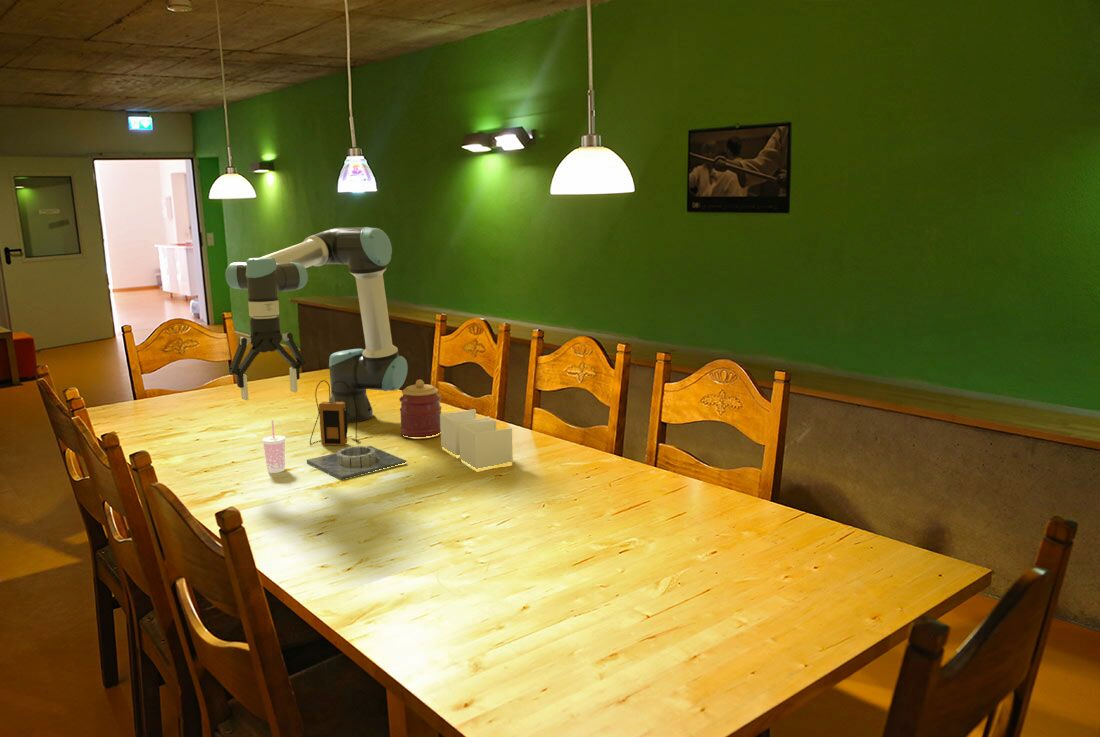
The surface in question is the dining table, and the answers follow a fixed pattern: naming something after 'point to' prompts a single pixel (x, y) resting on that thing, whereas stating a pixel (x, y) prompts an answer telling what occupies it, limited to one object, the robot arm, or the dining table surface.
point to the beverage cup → (274, 452)
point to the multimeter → (333, 421)
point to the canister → (420, 410)
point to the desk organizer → (475, 439)
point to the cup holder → (355, 461)
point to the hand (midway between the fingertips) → (270, 395)
